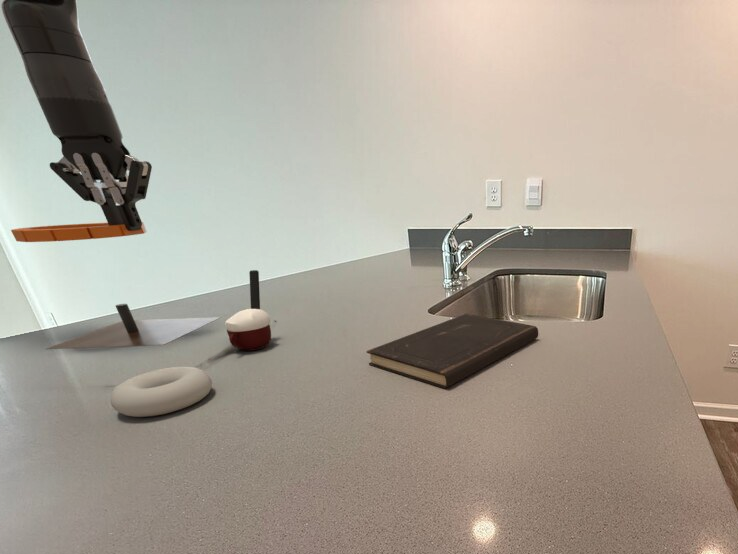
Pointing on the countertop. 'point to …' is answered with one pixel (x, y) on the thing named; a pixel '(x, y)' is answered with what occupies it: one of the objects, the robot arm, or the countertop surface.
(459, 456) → the countertop surface
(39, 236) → the ring
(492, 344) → the hardcover book
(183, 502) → the countertop surface
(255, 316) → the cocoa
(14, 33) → the robot arm
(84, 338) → the post board
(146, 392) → the donut
